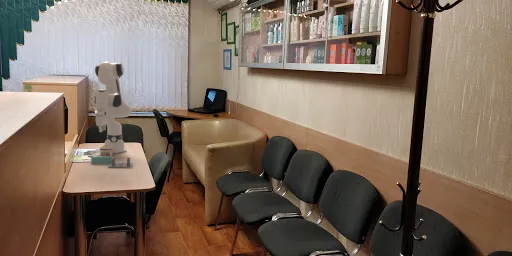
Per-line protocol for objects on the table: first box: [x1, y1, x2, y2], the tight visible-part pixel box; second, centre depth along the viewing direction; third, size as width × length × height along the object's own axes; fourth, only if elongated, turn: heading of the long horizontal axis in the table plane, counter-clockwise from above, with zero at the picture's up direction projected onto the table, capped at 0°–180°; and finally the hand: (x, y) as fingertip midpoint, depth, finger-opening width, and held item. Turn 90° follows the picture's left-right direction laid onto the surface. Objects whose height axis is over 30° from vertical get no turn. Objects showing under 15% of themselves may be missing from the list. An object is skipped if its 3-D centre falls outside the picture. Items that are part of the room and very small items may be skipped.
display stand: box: [108, 157, 134, 169], centre depth 294 cm, size 10×16×6 cm, turn 104°
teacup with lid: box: [99, 143, 117, 158], centre depth 311 cm, size 12×9×12 cm
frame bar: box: [90, 155, 113, 165], centre depth 299 cm, size 2×14×5 cm, turn 103°
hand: (102, 131), depth 297 cm, fingers open, 8 cm apart
